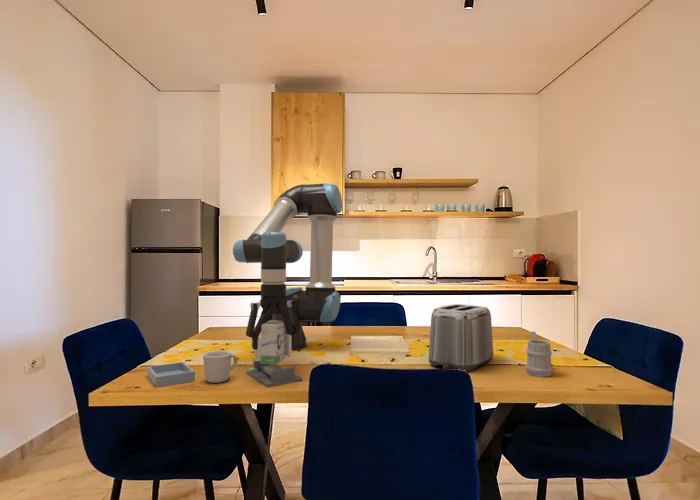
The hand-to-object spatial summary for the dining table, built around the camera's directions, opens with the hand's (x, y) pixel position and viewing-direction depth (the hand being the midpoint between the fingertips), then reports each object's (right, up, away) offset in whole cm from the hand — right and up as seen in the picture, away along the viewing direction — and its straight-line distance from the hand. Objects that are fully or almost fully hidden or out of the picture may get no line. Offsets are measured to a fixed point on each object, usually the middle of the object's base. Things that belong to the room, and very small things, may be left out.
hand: (273, 357), depth 132 cm
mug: (+82, -6, +6) cm, 82 cm away
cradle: (0, -6, 0) cm, 6 cm away
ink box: (0, -1, 0) cm, 1 cm away
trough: (-30, -6, -1) cm, 31 cm away
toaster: (+60, -6, +16) cm, 62 cm away
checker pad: (0, -5, 0) cm, 5 cm away
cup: (-15, -6, -2) cm, 16 cm away
